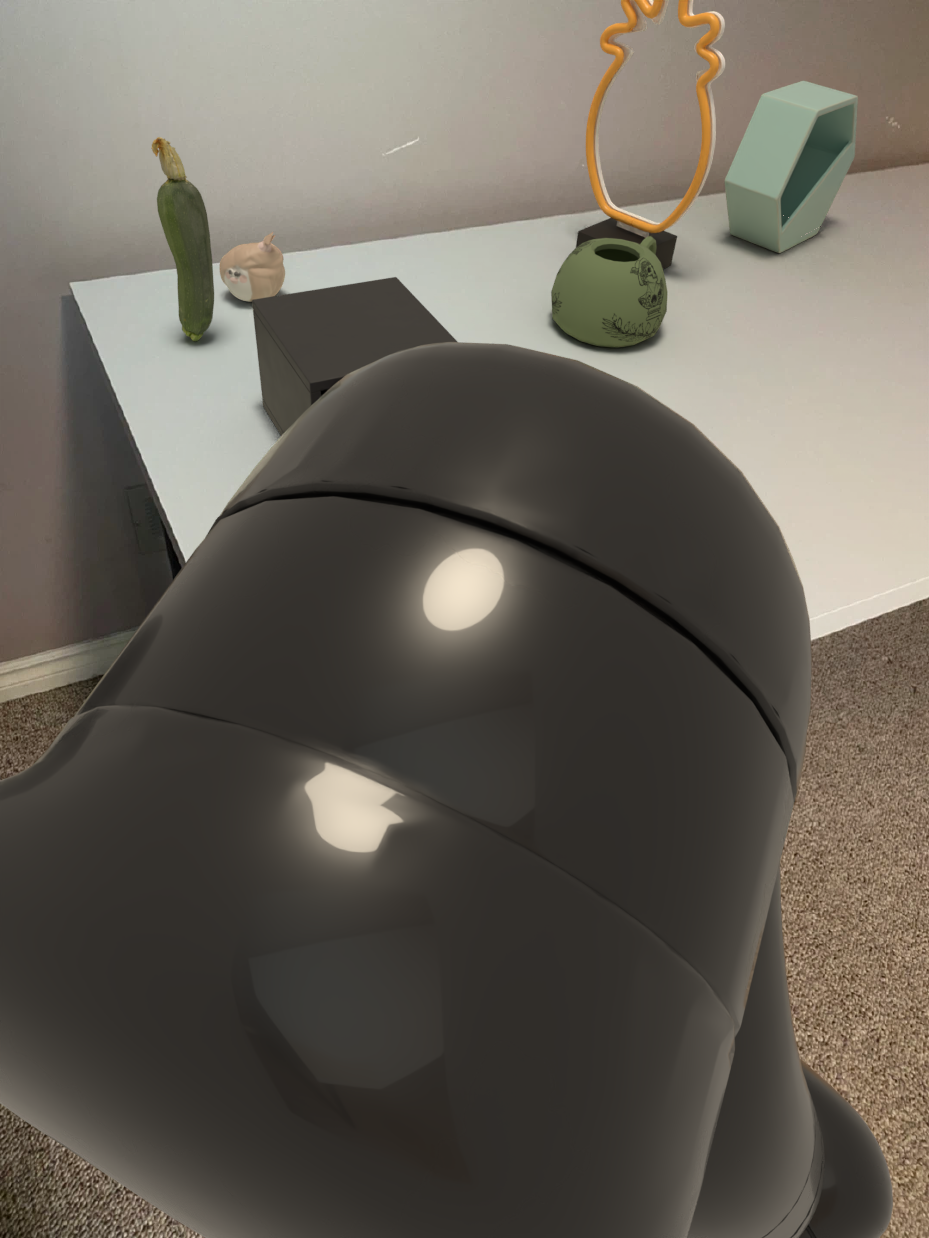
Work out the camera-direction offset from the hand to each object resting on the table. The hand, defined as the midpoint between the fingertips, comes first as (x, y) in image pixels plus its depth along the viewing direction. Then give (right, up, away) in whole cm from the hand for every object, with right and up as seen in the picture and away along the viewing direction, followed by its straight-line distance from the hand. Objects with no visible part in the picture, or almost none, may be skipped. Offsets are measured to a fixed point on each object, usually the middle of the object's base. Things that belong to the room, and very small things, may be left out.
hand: (398, 627), depth 55 cm
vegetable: (-23, +29, +41) cm, 56 cm away
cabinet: (-6, +18, +31) cm, 36 cm away
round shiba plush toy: (-20, +36, +49) cm, 64 cm away
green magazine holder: (+46, +52, +70) cm, 99 cm away
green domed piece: (+21, +34, +50) cm, 64 cm away
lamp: (+24, +45, +61) cm, 80 cm away
